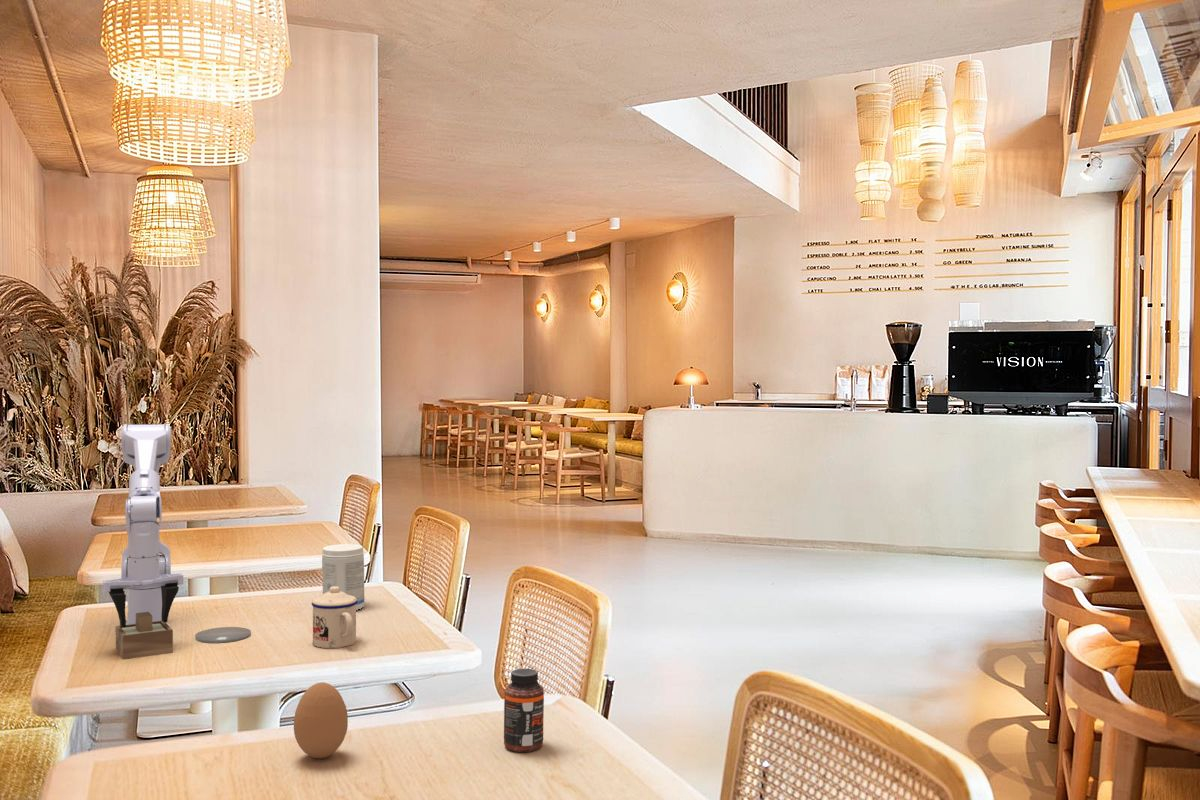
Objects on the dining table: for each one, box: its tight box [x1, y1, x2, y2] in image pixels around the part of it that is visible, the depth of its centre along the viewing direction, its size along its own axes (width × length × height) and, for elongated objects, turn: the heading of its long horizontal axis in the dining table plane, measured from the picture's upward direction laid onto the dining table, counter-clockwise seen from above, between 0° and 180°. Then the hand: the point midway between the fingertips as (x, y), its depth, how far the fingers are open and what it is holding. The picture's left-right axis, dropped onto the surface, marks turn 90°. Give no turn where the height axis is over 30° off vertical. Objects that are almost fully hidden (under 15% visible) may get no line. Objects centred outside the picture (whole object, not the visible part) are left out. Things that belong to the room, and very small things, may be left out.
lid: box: [121, 612, 166, 635], centre depth 204 cm, size 7×7×4 cm
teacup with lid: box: [311, 586, 357, 649], centre depth 210 cm, size 12×9×12 cm
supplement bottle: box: [503, 668, 545, 753], centre depth 154 cm, size 6×6×11 cm
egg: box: [293, 681, 349, 760], centre depth 149 cm, size 8×8×11 cm
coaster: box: [194, 626, 252, 644], centre depth 216 cm, size 11×11×1 cm
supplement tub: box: [321, 543, 365, 611], centre depth 241 cm, size 10×10×15 cm
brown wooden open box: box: [115, 621, 174, 660], centre depth 204 cm, size 9×9×4 cm
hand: (143, 623), depth 204 cm, fingers open, 7 cm apart
